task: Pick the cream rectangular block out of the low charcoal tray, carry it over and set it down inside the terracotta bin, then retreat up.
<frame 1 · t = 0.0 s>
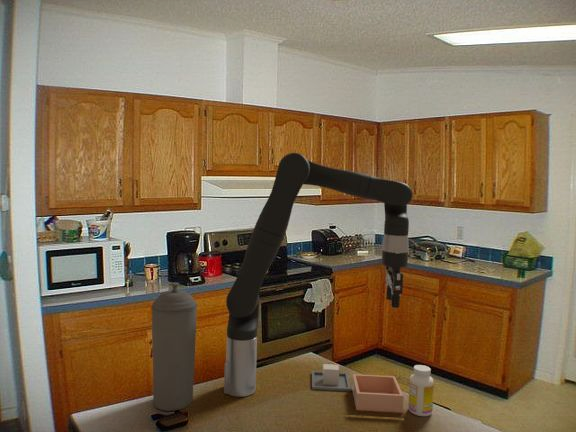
hand: (392, 303, 135), 29 cm above the countertop, tool pointing down, fingers open, 8 cm apart
bin: (375, 402, 134), on the countertop
cream rectangular block: (330, 382, 146), point 1 cm above the countertop, touching tray
supplement bottle: (420, 412, 130), on the countertop
tray: (330, 383, 146), on the countertop
canister: (173, 403, 130), on the countertop
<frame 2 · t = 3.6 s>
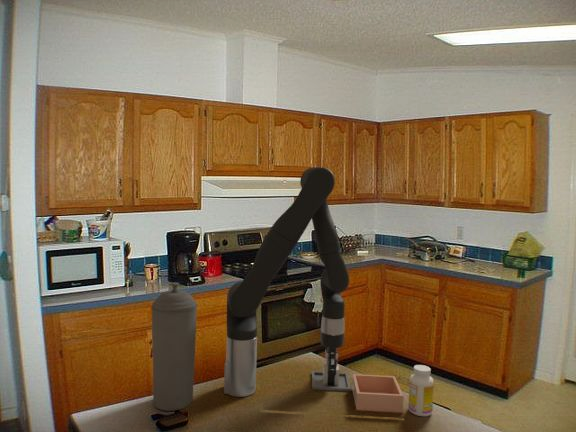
hand: (330, 381, 146), 1 cm above the countertop, tool pointing down, fingers closed on cream rectangular block, 4 cm apart
cream rectangular block: (330, 382, 146), point 1 cm above the countertop, touching gripper
everything else where it was.
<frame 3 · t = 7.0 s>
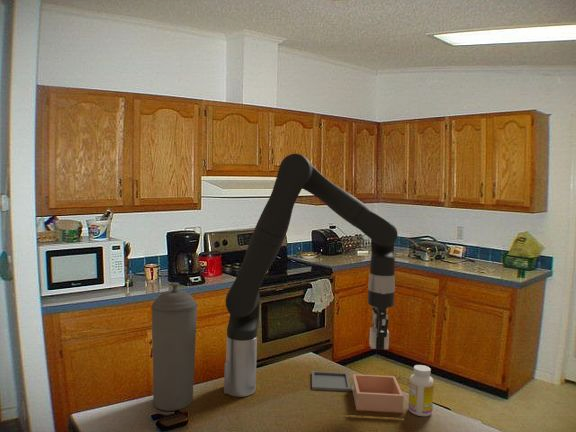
hand: (378, 346, 133), 17 cm above the countertop, tool pointing down, fingers closed on cream rectangular block, 4 cm apart
cream rectangular block: (378, 346, 133), point 17 cm above the countertop, touching gripper
everything else where it was.
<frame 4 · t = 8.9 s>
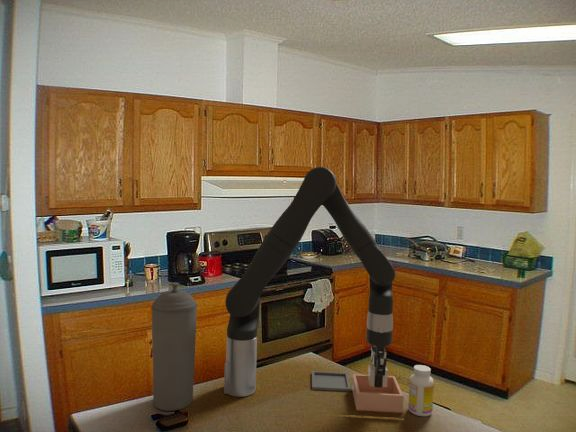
hand: (377, 383, 134), 6 cm above the countertop, tool pointing down, fingers closed on cream rectangular block, 4 cm apart
cream rectangular block: (377, 383, 134), point 6 cm above the countertop, touching gripper
everything else where it was.
when the fingers open (3 cm above the countertop, at t = 10.3 s): cream rectangular block drops 2 cm, resting on bin.
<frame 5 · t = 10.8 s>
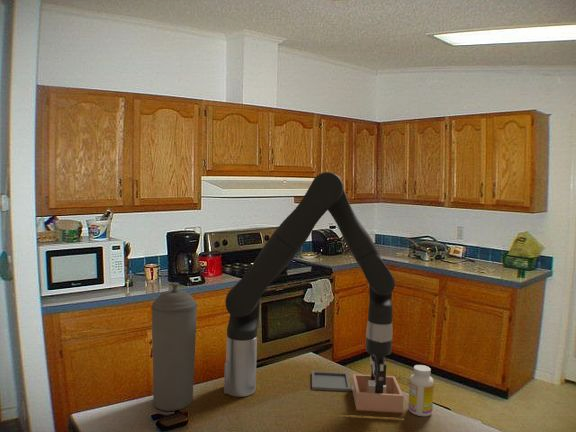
hand: (376, 389, 134), 4 cm above the countertop, tool pointing down, fingers open, 8 cm apart
cream rectangular block: (376, 399, 134), point 1 cm above the countertop, touching bin
everything else where it was.
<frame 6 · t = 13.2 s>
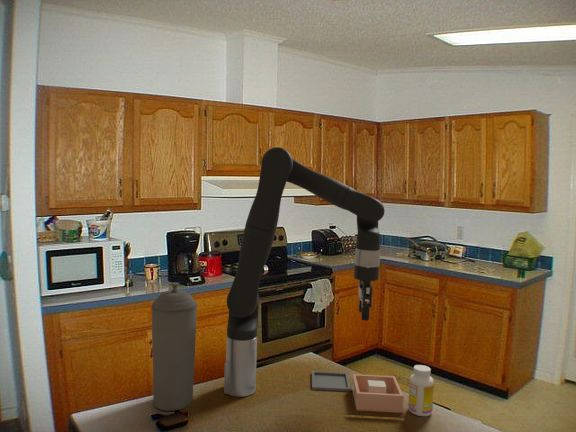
hand: (363, 315, 139), 24 cm above the countertop, tool pointing down, fingers open, 8 cm apart
nothing on the countertop moved.
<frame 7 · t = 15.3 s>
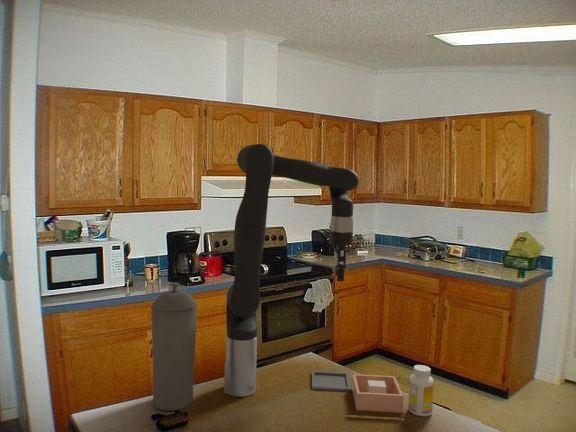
hand: (339, 278, 150), 33 cm above the countertop, tool pointing down, fingers open, 8 cm apart
nothing on the countertop moved.
at the end: cream rectangular block inside the target area on the bin (0.0 cm from its centre), point 0.8 cm above the bin's base; the gripper is holding nothing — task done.
